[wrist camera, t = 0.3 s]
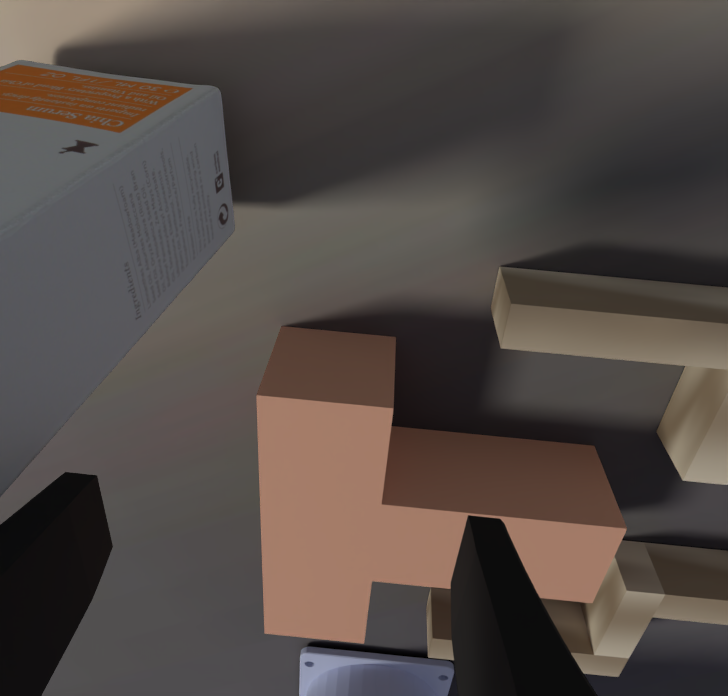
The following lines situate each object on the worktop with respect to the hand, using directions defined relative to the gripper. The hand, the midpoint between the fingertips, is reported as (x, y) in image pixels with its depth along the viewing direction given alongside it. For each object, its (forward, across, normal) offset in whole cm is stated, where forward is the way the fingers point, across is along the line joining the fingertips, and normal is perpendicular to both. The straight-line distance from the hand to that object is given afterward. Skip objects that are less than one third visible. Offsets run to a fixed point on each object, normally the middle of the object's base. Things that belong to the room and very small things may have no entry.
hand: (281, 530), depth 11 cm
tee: (+10, -4, +7) cm, 13 cm away
